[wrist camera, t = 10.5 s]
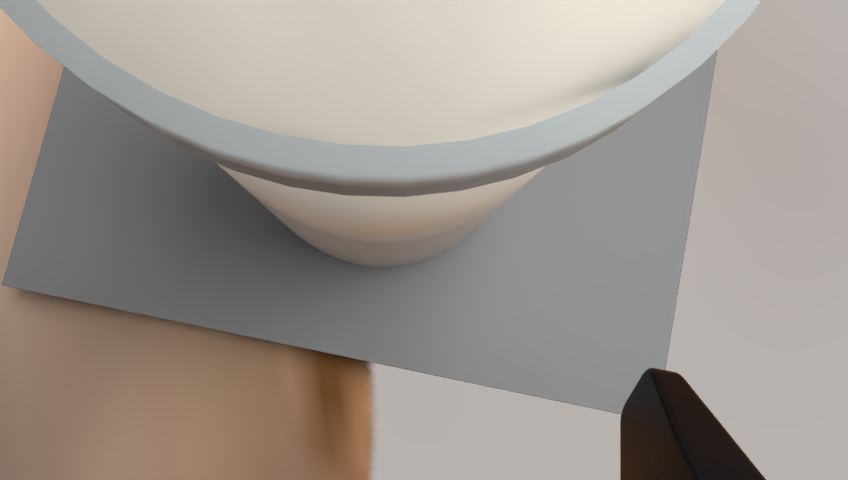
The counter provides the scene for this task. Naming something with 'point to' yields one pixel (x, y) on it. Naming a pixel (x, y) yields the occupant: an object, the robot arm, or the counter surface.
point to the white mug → (381, 96)
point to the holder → (382, 286)
